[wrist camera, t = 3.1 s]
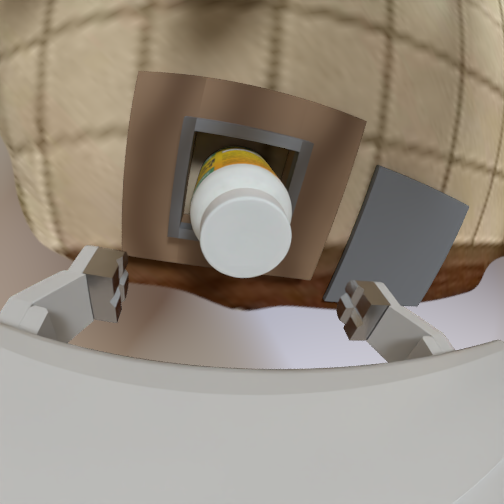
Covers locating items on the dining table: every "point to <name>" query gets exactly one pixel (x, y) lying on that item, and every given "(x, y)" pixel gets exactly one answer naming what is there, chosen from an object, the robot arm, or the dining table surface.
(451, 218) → the slate mat
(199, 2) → the dining table surface
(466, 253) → the dining table surface
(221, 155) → the supplement bottle
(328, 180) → the walnut stand
